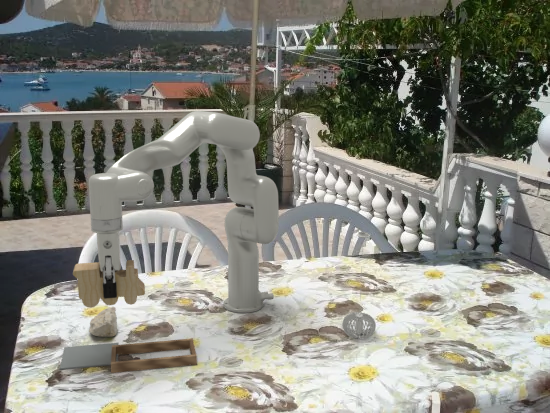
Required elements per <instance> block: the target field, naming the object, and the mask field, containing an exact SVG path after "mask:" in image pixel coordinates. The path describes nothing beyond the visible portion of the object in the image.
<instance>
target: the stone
mask: <svg viewBox="0 0 550 413" xmlns="http://www.w3.org/2000/svg"><path fill="white" fill-rule="evenodd" d="M116 310H117V309H116V307H115V306H111V307H109V306H108V307H107V308H105V309H103V310H101V311H100V312H98V314H97V315H96V316H94V317H93V318H91V319H90V323H89V325H90V327H89V330H88V333H90V334H91V335H93V336H96V337H101V338H102V337H103V338H105V337H107V338H113V337H114V336H116V335H117V334H118V321H117V319H118V317H117V314H116Z"/></svg>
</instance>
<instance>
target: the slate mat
mask: <svg viewBox="0 0 550 413" xmlns="http://www.w3.org/2000/svg"><path fill="white" fill-rule="evenodd" d="M112 345H120V344H119V342H110V343H109V342H108V343H99V344H98V343H97V344H87V345H86V344H85V345H75V346H74V345H73V346H64V347H63V351H62V352H63V353H62V356H61V361H60V366H59V371H62V370H71V369H82V368H83V369H84V368H94V367H95V368H96V367H102V366H103V367H104V366H111V354H112ZM118 361H119V355H118V354H116V362H118Z"/></svg>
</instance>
